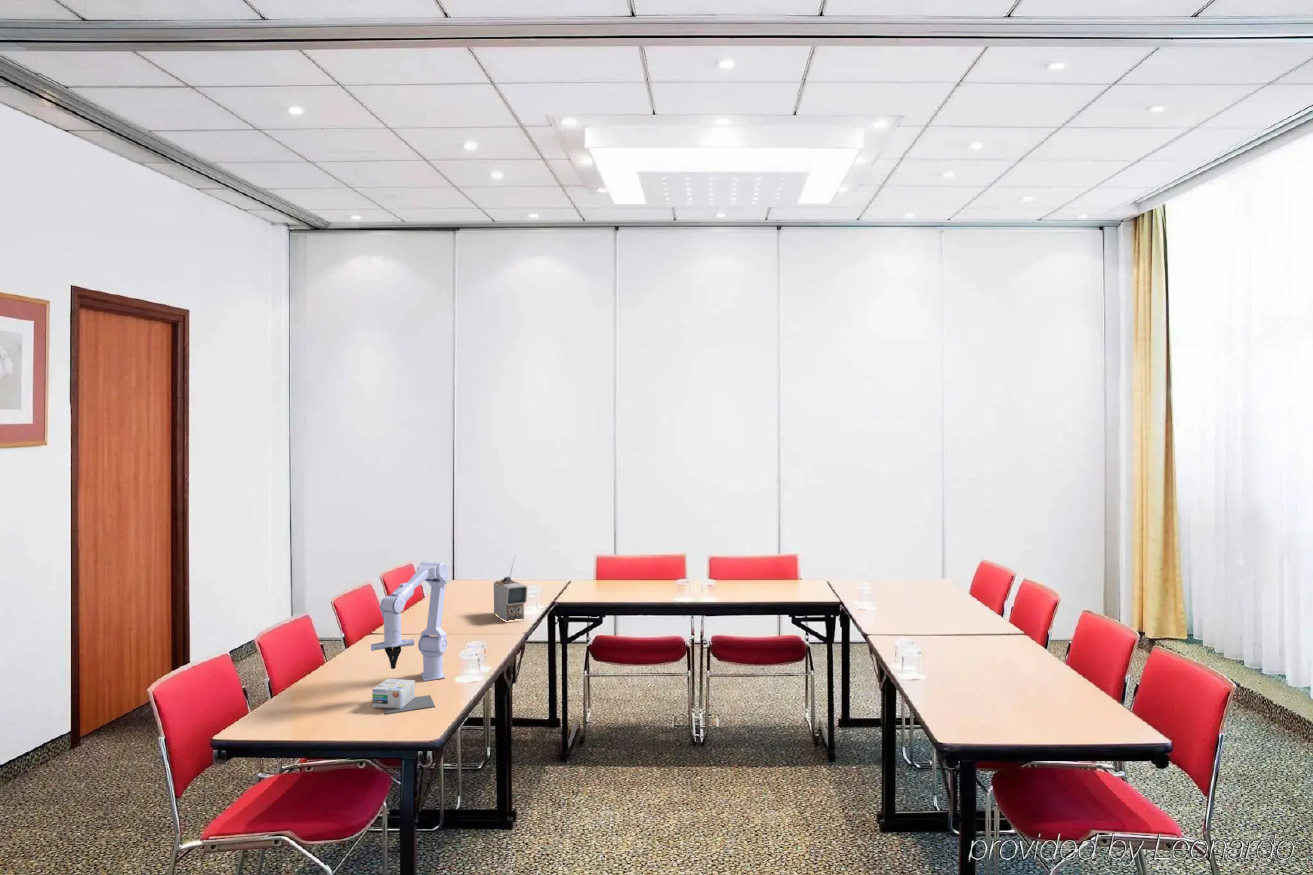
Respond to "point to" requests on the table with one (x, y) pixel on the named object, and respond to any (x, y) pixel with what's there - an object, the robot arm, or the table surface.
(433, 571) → the robot arm
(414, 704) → the mat
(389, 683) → the light bulb box
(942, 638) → the table surface
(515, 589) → the portable television
